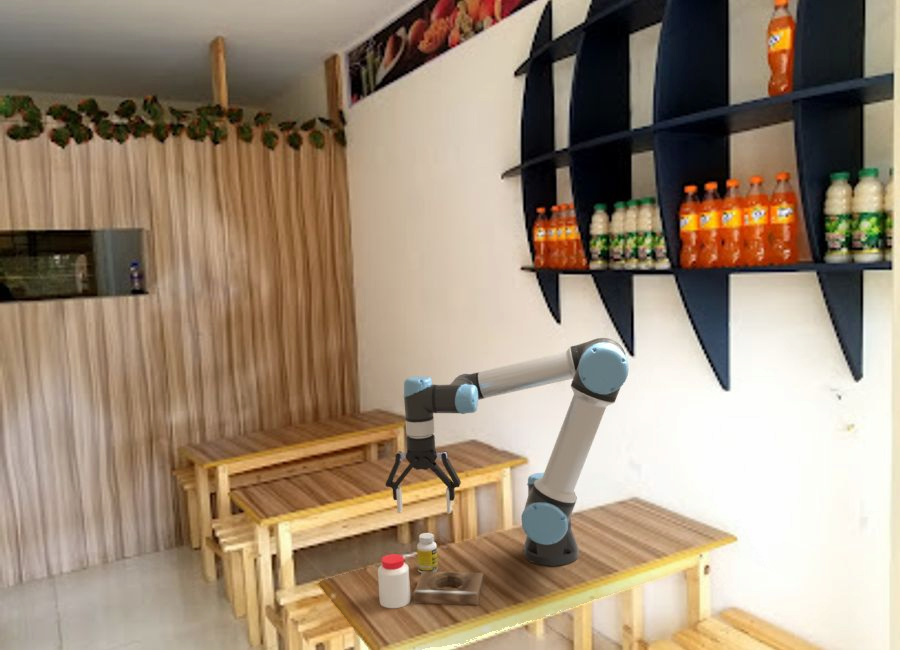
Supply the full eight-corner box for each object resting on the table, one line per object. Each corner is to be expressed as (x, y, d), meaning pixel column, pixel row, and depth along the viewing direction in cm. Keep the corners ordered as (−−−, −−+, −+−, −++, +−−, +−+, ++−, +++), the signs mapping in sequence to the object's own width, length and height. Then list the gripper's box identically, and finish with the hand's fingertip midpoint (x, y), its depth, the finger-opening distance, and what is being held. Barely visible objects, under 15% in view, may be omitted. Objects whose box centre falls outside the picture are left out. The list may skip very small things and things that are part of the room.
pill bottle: (385, 611, 172) (382, 568, 171) (375, 597, 179) (373, 555, 178) (415, 603, 175) (412, 561, 174) (404, 590, 183) (402, 549, 181)
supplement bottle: (435, 575, 190) (433, 540, 189) (415, 574, 192) (414, 539, 191) (439, 566, 196) (438, 532, 195) (420, 565, 197) (418, 531, 196)
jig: (483, 582, 185) (483, 571, 185) (477, 605, 173) (477, 594, 173) (423, 580, 188) (423, 570, 187) (413, 602, 176) (413, 591, 176)
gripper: (468, 430, 191) (472, 507, 193) (378, 431, 195) (383, 506, 198) (464, 438, 184) (468, 517, 186) (371, 438, 188) (376, 516, 190)
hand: (424, 511), depth 192 cm, fingers open, 13 cm apart
